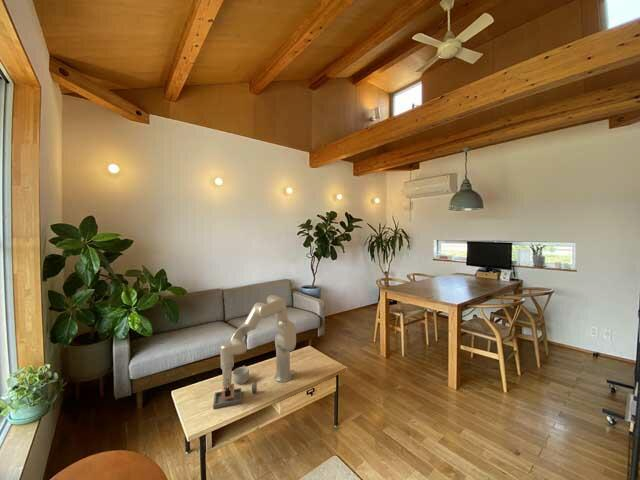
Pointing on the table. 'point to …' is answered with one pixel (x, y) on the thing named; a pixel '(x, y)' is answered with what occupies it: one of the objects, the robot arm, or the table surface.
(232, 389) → the pink block with knob
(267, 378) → the table surface
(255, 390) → the post
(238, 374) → the teacup
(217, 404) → the tray
